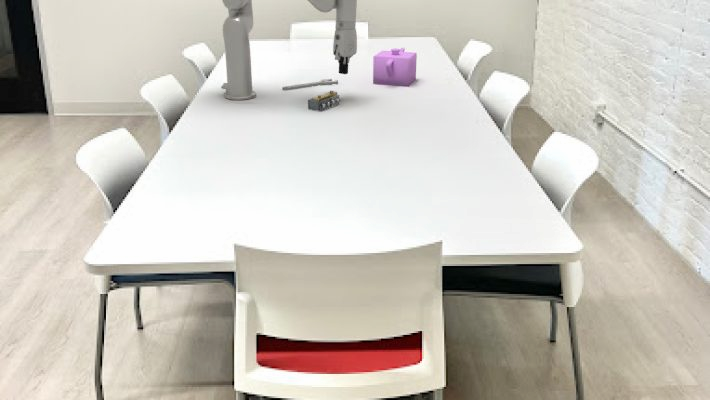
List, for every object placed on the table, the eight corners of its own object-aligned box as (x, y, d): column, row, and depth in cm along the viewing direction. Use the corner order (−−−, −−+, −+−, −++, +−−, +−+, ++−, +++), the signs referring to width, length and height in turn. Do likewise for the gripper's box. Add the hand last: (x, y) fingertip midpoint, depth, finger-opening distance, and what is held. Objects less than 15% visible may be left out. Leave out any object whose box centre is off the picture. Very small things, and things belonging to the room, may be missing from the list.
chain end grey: (317, 104, 285) (317, 95, 284) (325, 101, 289) (325, 92, 288) (332, 107, 281) (332, 98, 280) (340, 104, 285) (340, 95, 284)
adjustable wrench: (284, 92, 305) (283, 87, 304) (278, 88, 310) (278, 84, 309) (339, 85, 315) (339, 80, 315) (332, 81, 321) (332, 77, 320)
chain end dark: (306, 108, 280) (306, 99, 278) (316, 105, 284) (316, 96, 283) (322, 111, 276) (321, 102, 275) (331, 107, 281) (331, 98, 279)
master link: (313, 109, 279) (313, 96, 277) (331, 102, 289) (331, 89, 287) (318, 110, 278) (318, 97, 276) (337, 103, 287) (337, 90, 285)
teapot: (419, 76, 329) (420, 44, 324) (405, 89, 307) (406, 55, 302) (386, 73, 334) (386, 42, 328) (369, 86, 312) (369, 52, 306)
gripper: (342, 29, 276) (340, 78, 283) (364, 24, 287) (361, 72, 294) (325, 26, 279) (324, 75, 286) (348, 21, 291) (346, 68, 298)
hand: (343, 73), depth 290 cm, fingers closed
